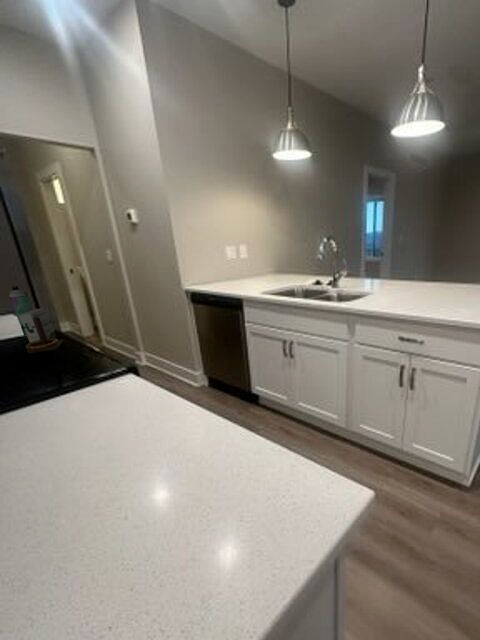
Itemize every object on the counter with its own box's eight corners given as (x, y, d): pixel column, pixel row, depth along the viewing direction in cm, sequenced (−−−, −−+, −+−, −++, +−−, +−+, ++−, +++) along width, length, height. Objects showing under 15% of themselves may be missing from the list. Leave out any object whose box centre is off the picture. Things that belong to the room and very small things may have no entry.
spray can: (37, 332, 145) (20, 284, 137) (42, 334, 142) (25, 285, 134) (22, 336, 141) (3, 287, 133) (27, 338, 138) (8, 288, 130)
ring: (22, 351, 118) (21, 348, 117) (31, 343, 126) (30, 340, 125) (54, 347, 121) (53, 343, 120) (60, 339, 129) (59, 336, 128)
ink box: (45, 337, 137) (35, 308, 133) (57, 336, 137) (47, 307, 133) (29, 344, 129) (17, 314, 125) (41, 344, 129) (30, 313, 125)
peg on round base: (28, 355, 119) (15, 323, 114) (36, 347, 127) (25, 316, 122) (58, 350, 122) (47, 319, 117) (64, 342, 129) (54, 313, 125)
